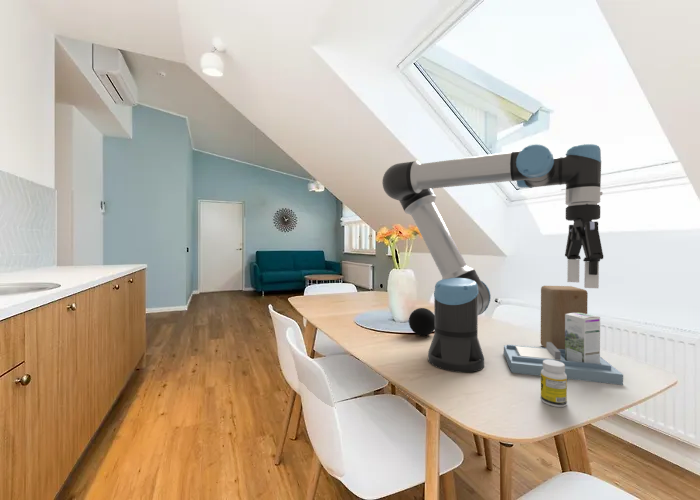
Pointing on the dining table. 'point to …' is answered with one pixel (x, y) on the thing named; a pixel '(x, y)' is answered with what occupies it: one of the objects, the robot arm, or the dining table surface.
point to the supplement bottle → (554, 383)
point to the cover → (539, 352)
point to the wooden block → (559, 311)
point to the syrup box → (582, 338)
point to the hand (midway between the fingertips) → (581, 285)
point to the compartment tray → (572, 369)
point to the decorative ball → (422, 321)
